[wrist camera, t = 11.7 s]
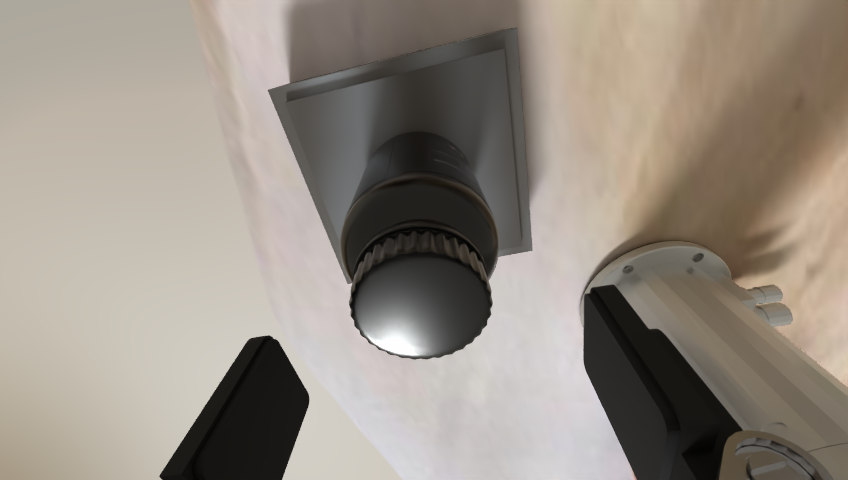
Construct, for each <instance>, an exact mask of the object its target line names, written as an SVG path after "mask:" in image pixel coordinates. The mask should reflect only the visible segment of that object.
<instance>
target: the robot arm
mask: <svg viewBox="0 0 848 480" xmlns="http://www.w3.org/2000/svg"><path fill="white" fill-rule="evenodd" d="M782 297H783V294H782V292H781V290H780V289H779V288H778V287H777V286H775V285H767V286H761V287H754V288H753V289H747V290H746V289H745V288H742V287H740V286H739V285H737V284H736V283H735V282H733V281H732V277H731V272H730V270H729V268H728V266H727V265H726V263H725V262H724V261H723V260H722V259H721V258H720V257H719V256H718V255H716V254H715V253H713V252H712V251H710V250H709V249H707V248H706V247H703V246H701V245H698V244H695V243H690V242H684V241H665V242H660V243H654V244H649V245H646V246H643V247H640V248H637V249H635V250H633V251H630V252H628V253H626V254H624V255H622V256H620V257H619V258H617V259H616V260H614V261H613V262H611V263H610V264H608V265H607V266H606V267H605V268H604V269H603V270H602V271H600V272H599V273H598V274H597V276H596V277H595V278H594V279H593V280H592V282H591V283H590V284H589V286H588V287H587V289H586V291H585V293H584V295H583V298H582V301H581V304H580V318H581V323H582V325H583V327H584V365H585V369H586V372H587V374H588V376H589V378H590V381H591V383H592V385H593V387H594V389H595V391H596V393H597V395H598V398H599V400H600V402H601V404H602V406H603V408H604V410H605V412H606V415H607V417H608V419H609V421H610V423H611V425H612V427H613V429H614V431H615V434H616V436H617V438H618V440H619V442H620V444H621V446H622V448H623V451H624V453H625V455H626V457H627V459H628V461H629V463H630V465H631V468H632V470H633V472H634V474H635V476H636V478H637V480H848V387H846V386H845V385H844V384H843V383H842V382H840V381H839V380H838V379H837V378H835V377H834V376H833V375H832V374H830V373H829V372H828V371H827V370H825V369H824V368H823V367H822V366H821V365H819V364H818V363H817V362H816V361H814V360H813V359H812V358H811V357H809V356H808V355H807V354H806V353H804V352H803V351H802V350H801V349H800V348H798V347H797V346H796V345H795V344H793V343H792V342H791V341H790V340H788V339H787V338H786V337H785V336H783V335H782V334H781V333H780V332H779V331H777V330H776V329H775V328H774V327H777V326H784V325H789V324H791V322H792V321H793V317H792V313H791V311H790V309H789V308H788V307H787V306H786V305H784V304H782V303H780V302H777V301H781V299H782ZM770 302H775V303H770ZM758 303H759V304H762V305H756V304H758ZM764 303H768V304H764ZM308 405H309V395H308V392H307V391H306V389H305V387H304V385H303V384H302V382H301V380H300V378H299V377H298V375H297V373H296V371H295V370H294V368H293V366H292V364H291V363H290V361H289V359H288V357H287V356H286V354H285V352H284V351H283V349H282V347H281V346H280V344H279V342H278V341H277V340H276V339H273V337H271V336H262V337H256V338H251V339H249V340H248V341H247V343H246V344H245V346H244V347H243V349H242V350H241V352H240V353H239V355H238V357H237V358H236V359H235V361H234V363H233V364H232V366H231V367H230V369H229V370H228V372H227V373H226V375H225V376H224V378H223V380H222V381H221V382H220V384H219V385H218V387H217V389H216V390H215V392H214V393H213V395H212V396H211V398H210V400H209V401H208V402H207V404H206V405H205V407H204V409H203V410H202V412H201V413H200V415H199V416H198V418H197V419H196V421H195V422H194V424H193V425H192V427H191V428H190V430H189V431H188V433H187V434H186V436H185V438H184V439H183V441H182V442H181V444H180V445H179V447H178V448H177V450H176V451H175V453H174V454H173V456H172V458H171V459H170V461H169V462H168V464H167V465H166V467H165V468H164V470H163V471H162V473H161V474H160V478H161V479H162V480H282V478H283V475H284V472H285V469H286V467H287V464H288V461H289V458H290V455H291V453H292V450H293V447H294V444H295V441H296V439H297V436H298V433H299V431H300V428H301V425H302V422H303V419H304V417H305V414H306V411H307V408H308Z"/></svg>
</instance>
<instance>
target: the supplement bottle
mask: <svg viewBox="0 0 848 480" xmlns="http://www.w3.org/2000/svg"><path fill="white" fill-rule="evenodd" d="M499 247H500V242H499V233H498V229H497V225H496V222H495V219H494V216H493V214H492V212H491V209H490V207H489V205H488V203H487V201H486V198H485V196H484V194H483V192H482V190H481V188H480V185H479V183H478V181H477V179H476V177H475V175H474V172H473V170H472V168H471V166H470V164H469V162H468V160H467V159H466V157H465V156H464V154H463V153H462V152H461V150H460V149H459V148H458V147H457V146H456V145H455V144H453V143H452V142H451V141H449V140H448V139H446V138H444V137H442V136H440V135H437V134H434V133H430V132H422V131H415V132H407V133H403V134H400V135H397V136H395V137H393V138H391V139H389V140H388V141H386V142H385V143H384V144H382V145H381V146H380V147H379V148H378V149H377V150H376V152H375V153H374V154H373V155H372V157H371V159H370V160H369V162H368V164H367V166H366V169H365V171H364V173H363V176H362V178H361V181H360V183H359V186H358V188H357V190H356V193H355V195H354V198H353V200H352V203H351V205H350V207H349V210H348V212H347V215H346V217H345V220H344V223H343V226H342V230H341V235H340V255H341V260H342V264H343V267H344V269H345V272H346V274H347V276H348V278H349V279H350V281H351V283H352V287H351V296H350V300H349V305H350V308H351V317H352V318H353V320H354V325H355V327H356V328H357V329H359V330H360V334H361V336H363V337H365V338H366V339H367V340H368V342H369V343H370V344H372V345H375V346H376V347H377V348H378V349H379V350H382V351H386V352H387V353H388V354H390V355H397V356H399V357H401V358H411V359H420V358H422V359H430V358H433V357H436V358H440V357H442V356H444V355H449V354H452V353H454V352H455V351H457V350H461V349H463V348H464V347H465V346H466V345H467V344H470V343H472V342H473V341H474V338H475V337H477V336H479V335H480V334H481V331H482V329H483V328H484V327H485V326H486V325H487V320H488V318H489V317H490V316H491V310H490V309H491V307H492V304H493V302H492V297H491V287H490V284H489V279H490V278H491V276H492V274H493V272H494V269H495V267H496V264H497V261H498V256H499Z"/></svg>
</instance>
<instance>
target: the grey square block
mask: <svg viewBox="0 0 848 480" xmlns="http://www.w3.org/2000/svg"><path fill="white" fill-rule="evenodd" d="M268 92H269V94H270V97H271V99H272V102H273V104H274V106H275V109H276V111H277V114H278V116H279V119H280V121H281V123H282V126H283V128H284V131H285V133H286V135H287V138H288V140H289V143H290V145H291V148H292V150H293V152H294V155H295V157H296V160H297V162H298V165H299V167H300V169H301V172H302V174H303V177H304V179H305V182H306V184H307V186H308V189H309V191H310V194H311V196H312V199H313V201H314V203H315V206H316V208H317V211H318V213H319V215H320V218H321V220H322V223H323V225H324V228H325V230H326V232H327V235H328V237H329V240H330V242H331V245H332V247H333V249H334V252H335V254H336V257H337V259H338V262H339V264H340V266H341V269H342V271H343V274H344V276H345V278H346V281H347V283H348V284H350V283H351V281H350V279H349V278H348V276H347V274H346V272H345V269H344V267H343V264H342V260H341V255H340V235H341V230H342V226H343V223H344V220H345V217H346V215H347V212H348V210H349V207H350V205H351V203H352V200H353V198H354V195H355V193H356V190H357V188H358V186H359V183H360V181H361V178H362V176H363V173H364V171H365V169H366V166H367V164H368V162H369V160H370V159H371V157H372V155H373V154H374V153H375V152H376V150H377V149H378V148H379V147H380V146H381V145H382V144H384V143H385V142H386V141H388V140H389V139H391V138H393V137H395V136H397V135H400V134H403V133H407V132H415V131H422V132H430V133H434V134H437V135H440V136H442V137H444V138H446V139H448V140H449V141H451V142H452V143H453V144H455V145H456V146H457V147H458V148H459V149H460V150H461V152H462V153H463V154H464V156H465V157H466V159H467V160H468V162H469V164H470V166H471V168H472V170H473V172H474V175H475V177H476V179H477V181H478V183H479V185H480V188H481V190H482V192H483V194H484V196H485V198H486V201H487V203H488V205H489V207H490V209H491V212H492V214H493V216H494V219H495V222H496V225H497V229H498V233H499V242H500V247H499V256H498V257H500V256H505V255H511V254H516V253H522V252H527V251H532V237H531V223H530V209H529V194H528V180H527V166H526V152H525V137H524V123H523V109H522V94H521V80H520V66H519V52H518V37H517V28H512V29H506V30H501V31H497V32H493V33H489V34H485V35H481V36H477V37H473V38H469V39H465V40H461V41H457V42H453V43H449V44H445V45H441V46H437V47H433V48H429V49H425V50H421V51H417V52H413V53H409V54H405V55H401V56H397V57H393V58H389V59H385V60H381V61H377V62H373V63H369V64H365V65H361V66H357V67H353V68H349V69H345V70H341V71H337V72H333V73H329V74H326V75H322V76H318V77H314V78H310V79H306V80H302V81H298V82H294V83H290V84H286V85H283V86H279V87H276V88H273V89H269V90H268Z"/></svg>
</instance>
